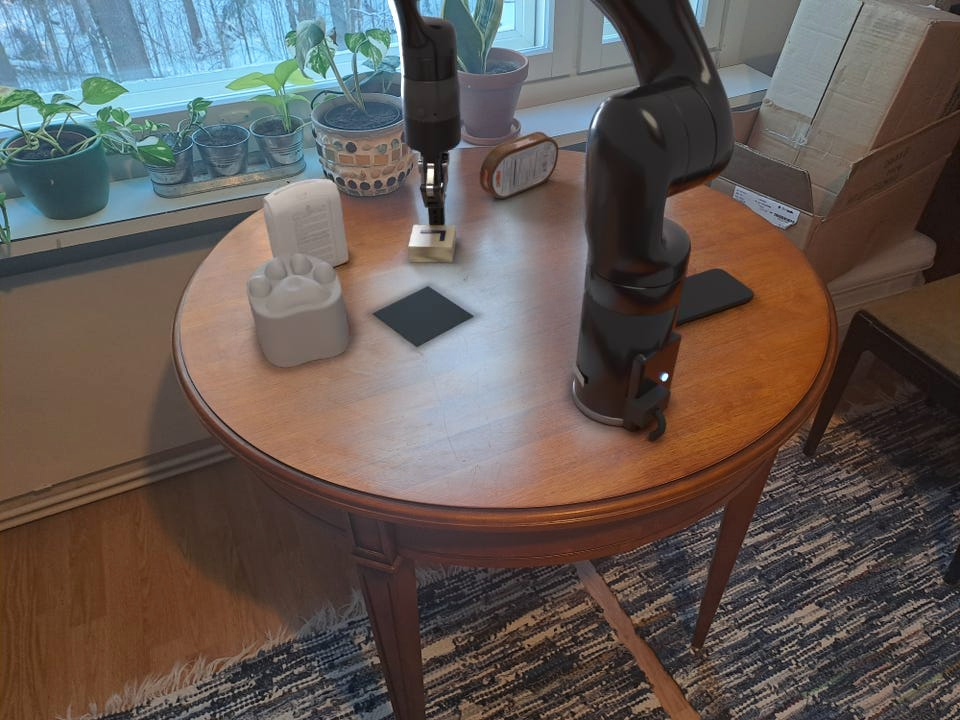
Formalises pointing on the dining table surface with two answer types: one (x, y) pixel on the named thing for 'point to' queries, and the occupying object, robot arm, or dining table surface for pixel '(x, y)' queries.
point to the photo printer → (307, 221)
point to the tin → (518, 165)
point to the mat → (422, 315)
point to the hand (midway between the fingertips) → (437, 225)
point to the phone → (710, 294)
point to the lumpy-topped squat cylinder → (298, 310)
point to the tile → (432, 243)
